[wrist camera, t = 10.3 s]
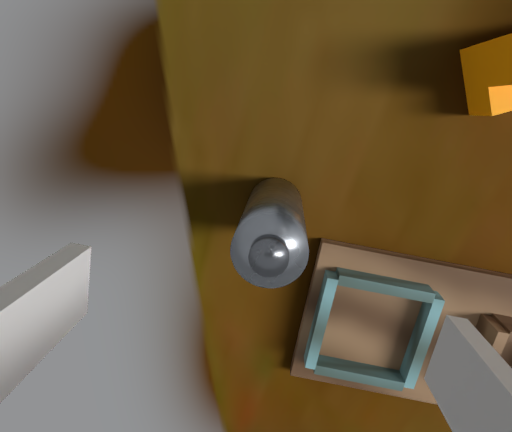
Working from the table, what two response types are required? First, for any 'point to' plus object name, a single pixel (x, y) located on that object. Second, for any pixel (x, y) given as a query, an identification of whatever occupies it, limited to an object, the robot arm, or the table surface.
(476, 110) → the pipe clamp
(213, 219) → the table surface
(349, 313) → the mount
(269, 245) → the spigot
